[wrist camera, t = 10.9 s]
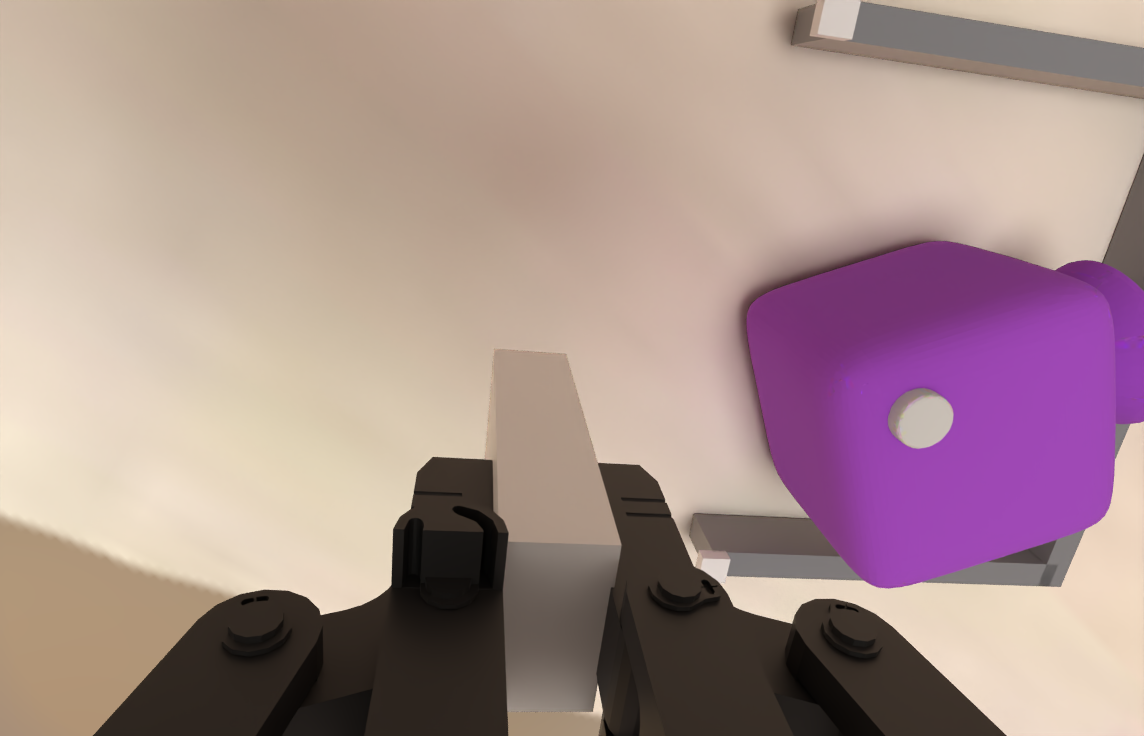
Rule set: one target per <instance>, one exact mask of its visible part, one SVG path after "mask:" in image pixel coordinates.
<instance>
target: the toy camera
mask: <svg viewBox="0 0 1144 736" xmlns="http://www.w3.org/2000/svg"><path fill="white" fill-rule="evenodd" d="M747 336H748V343H749V349H750V355H751V360H752V365H753V370H754V375H755V380H756V384H757V389H758V394H759V399H760V404H761V409H762V414H763V419H764V424H765V428H766V433H767V438H768V443H769V447H770V451H771V455H772V459H773V462H774V465H775V468H776V470H777V473H778V475H779V476H780V478H781V480H782V482H783V483H784V484H785V486H786V487H787V489H788V490H789V491H790V493H791V494H792V495H793V497H794V498H795V499H796V501H797V502H798V503H799V504H800V506H801V507H802V508H803V510H804V511H805V512H806V513H807V515H808V516H809V517H810V518H811V520H812V521H813V522H814V524H815V525H816V526H817V527H818V529H819V530H820V531H821V533H822V534H823V535H824V536H825V538H826V539H827V540H828V541H829V543H830V544H831V545H832V547H833V548H834V549H835V550H836V551H837V553H838V554H839V555H840V556H841V558H842V559H843V560H844V561H845V562H846V564H847V565H848V566H849V567H850V568H851V569H852V570H853V571H854V572H855V573H856V574H857V575H858V576H859V577H861V578H862V579H863V580H864V581H866V582H867V583H869V584H871V585H873V586H876V587H879V588H896V587H904V586H908V585H912V584H916V583H920V582H923V581H927V580H930V579H933V578H937V577H940V576H943V575H947V574H950V573H953V572H956V571H960V570H963V569H966V568H969V567H972V566H975V565H979V564H982V563H985V562H988V561H991V560H994V559H998V558H1001V557H1004V556H1007V555H1010V554H1013V553H1016V552H1020V551H1023V550H1026V549H1029V548H1032V547H1035V546H1039V545H1042V544H1045V543H1048V542H1051V541H1054V540H1057V539H1060V538H1063V537H1066V536H1069V535H1072V534H1074V533H1077V532H1080V531H1082V530H1084V529H1086V528H1088V527H1090V526H1092V525H1094V524H1096V523H1097V522H1098V521H1100V520H1101V519H1102V518H1103V517H1104V516H1105V514H1106V512H1107V511H1108V509H1109V506H1110V503H1111V497H1112V492H1113V482H1114V464H1115V433H1116V424H1132V423H1140V422H1143V421H1144V291H1143V290H1142V289H1141V288H1140V287H1139V286H1138V285H1137V284H1136V283H1135V282H1134V281H1132V280H1131V279H1130V278H1129V277H1128V276H1126V275H1125V274H1123V273H1122V272H1120V271H1119V270H1117V269H1115V268H1113V267H1111V266H1109V265H1107V264H1103V263H1100V262H1096V261H1088V260H1083V261H1076V262H1071V263H1068V264H1066V265H1064V266H1062V267H1060V268H1058V269H1056V270H1055V271H1054V270H1051V269H1048V268H1044V267H1041V266H1038V265H1035V264H1031V263H1028V262H1025V261H1022V260H1019V259H1015V258H1012V257H1008V256H1005V255H1001V254H998V253H994V252H990V251H987V250H983V249H979V248H976V247H972V246H968V245H964V244H960V243H954V242H948V241H933V242H926V243H922V244H918V245H914V246H910V247H906V248H903V249H900V250H896V251H893V252H890V253H887V254H883V255H880V256H877V257H874V258H870V259H867V260H864V261H861V262H858V263H854V264H851V265H848V266H845V267H841V268H838V269H835V270H832V271H828V272H825V273H822V274H819V275H816V276H813V277H810V278H806V279H803V280H800V281H797V282H794V283H791V284H788V285H785V286H782V287H780V288H777V289H774V290H772V291H769V292H768V293H766V294H764V295H762V296H760V297H759V298H757V299H756V300H755V301H754V302H753V303H752V304H751V305H750V307H749V310H748V313H747Z"/></svg>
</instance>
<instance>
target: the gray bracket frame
mask: <svg viewBox="0 0 1144 736" xmlns="http://www.w3.org/2000/svg"><path fill="white" fill-rule="evenodd" d="M791 45H793V46H800V47H806V48H813V49H819V50H826V51H832V52H839V53H846V54H852V55H859V56H865V57H872V58H879V59H885V60H892V61H898V62H905V63H911V64H918V65H925V66H931V67H938V68H944V69H951V70H958V71H964V72H971V73H977V74H984V75H990V76H997V77H1004V78H1010V79H1017V80H1023V81H1030V82H1037V83H1043V84H1050V85H1056V86H1063V87H1069V88H1076V89H1083V90H1089V91H1096V92H1102V93H1109V94H1116V95H1122V96H1129V97H1135V98H1142V99H1144V48H1140V47H1134V46H1128V45H1122V44H1116V43H1110V42H1104V41H1098V40H1091V39H1085V38H1079V37H1073V36H1067V35H1061V34H1055V33H1049V32H1043V31H1037V30H1031V29H1024V28H1018V27H1012V26H1006V25H1000V24H994V23H988V22H982V21H976V20H970V19H964V18H958V17H951V16H945V15H939V14H933V13H927V12H921V11H915V10H909V9H903V8H897V7H891V6H884V5H878V4H872V3H866V2H861V0H817V3H816V4H814V5H811V6H808V7H804V8H801V9H799V10H798V14H797V19H796V24H795V29H794V34H793V38H792V43H791ZM1103 264H1107V265H1109V266H1111V267H1113V268H1115V269H1117V270H1119V271H1120V272H1122V273H1123V274H1125V275H1126V276H1128V277H1129V278H1130V279H1131V280H1132V281H1134V282H1135V283H1136V284H1137V285H1138V286H1139V287H1140V288H1141V289H1142V290H1143V291H1144V157H1143V159H1142V162H1141V164H1140V167H1139V170H1138V172H1137V175H1136V178H1135V180H1134V183H1133V185H1132V188H1131V191H1130V193H1129V196H1128V199H1127V201H1126V204H1125V206H1124V209H1123V212H1122V214H1121V217H1120V220H1119V222H1118V225H1117V227H1116V230H1115V233H1114V235H1113V238H1112V241H1111V243H1110V246H1109V248H1108V251H1107V254H1106V256H1105V259H1104V262H1103ZM1129 426H1130V424H1116V433H1115V458H1116V456H1117V454H1118V451H1119V449H1120V447H1121V444H1122V442H1123V440H1124V437H1125V435H1126V433H1127V430H1128V428H1129ZM1084 531H1085V529H1084V530H1082V531H1080V532H1077V533H1074V534H1072V535H1069V536H1066V537H1063V538H1060V539H1057V540H1054V541H1051V542H1048V543H1045V544H1042V545H1039V546H1035V547H1032V548H1029V549H1026V550H1023V551H1020V552H1016V553H1013V554H1010V555H1007V556H1004V557H1001V558H998V559H994V560H991V561H988V562H985V563H982V564H979V565H975V566H972V567H969V568H966V569H963V570H960V571H956V572H953V573H950V574H947V575H943V576H940V577H937V578H933V579H930V580H927V581H923V582H926V583H958V584H989V585H1020V586H1051V587H1061V585H1062V582H1063V580H1064V578H1065V575H1066V573H1067V571H1068V568H1069V566H1070V564H1071V561H1072V559H1073V557H1074V554H1075V552H1076V550H1077V547H1078V545H1079V543H1080V540H1081V538H1082V536H1083V533H1084ZM689 536H690V538H691V540H692V543H693V545H694V547H695V549H696V551H697V553H698V557H697V562H696V567H695V568H698V569H700V570H703V571H704V572H706V573H707V574H709V575H710V576H711V577H713V578H714V579H716V580H717V581H718V582H719V583H725V581H726V577H727V576H739V577H771V578H802V579H833V580H863V579H862V578H861V577H859V576H858V575H857V574H856V573H855V572H854V571H853V570H852V569H851V568H850V567H849V566H848V565H847V564H846V562H845V561H844V560H843V559H842V558H841V556H840V555H839V554H838V553H837V551H836V550H835V549H834V548H833V547H832V545H831V544H830V543H829V541H828V540H827V539H826V538H825V536H824V535H823V534H822V533H821V531H820V530H819V529H818V527H817V526H816V525H815V524H814V522H813V521H812V520H811V519H800V518H778V517H756V516H734V515H712V514H694V515H693V520H692V525H691V530H690V535H689Z"/></svg>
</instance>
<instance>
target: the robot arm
mask: <svg viewBox="0 0 1144 736" xmlns="http://www.w3.org/2000/svg"><path fill="white" fill-rule="evenodd" d="M597 685H598V686H599V691H600V697H601V702H602V708H603V714H602V719H601V725H600V731H599V736H1006V735H1005V734H1004V733H1003V732H1002V731H1001V730H1000V729H999V728H998V727H997V726H996V725H995V724H994V723H993V722H992V721H991V720H990V719H989V718H988V717H987V716H985V715H984V714H983V713H982V712H981V711H980V710H979V709H978V708H977V707H976V706H975V705H974V704H973V703H972V702H971V701H970V700H969V699H968V698H967V697H966V696H964V695H963V694H962V693H961V692H960V691H959V690H958V689H957V688H956V687H955V686H954V685H953V684H952V683H951V682H950V681H949V680H948V679H947V678H946V677H945V676H943V675H942V674H941V673H940V672H939V671H938V670H937V669H936V668H935V667H934V666H933V665H932V664H931V663H930V662H929V661H928V660H927V659H926V658H925V657H924V656H922V655H921V654H920V653H919V652H918V651H917V650H916V649H915V648H914V647H913V646H912V645H911V644H910V643H909V642H908V641H907V640H906V639H905V638H904V637H903V636H901V635H900V634H899V633H898V632H897V631H896V630H895V629H894V628H893V627H892V626H891V625H889V624H888V623H887V622H885V621H884V620H883V619H881V618H880V617H879V616H877V615H876V614H875V613H872V612H870V611H868V610H866V609H864V608H862V607H860V606H858V605H856V604H852V603H848V602H844V601H840V600H836V599H814V600H812V601H809V602H807V603H804V604H802V605H801V607H800V608H799V609H798V611H797V612H796V614H795V616H794V620H793V623H792V624H790V623H786V622H782V621H778V620H774V619H770V618H766V617H762V616H758V615H754V614H751V613H748V612H745V611H742V610H739V609H737V608H735V607H733V604H732V602H731V600H730V598H729V596H728V594H727V593H726V591H725V590H724V589H723V587H722V586H721V585H720V583H719V582H718V581H717V580H716V579H714V578H713V577H711V576H710V575H709V574H707V573H706V572H704V571H703V570H700V569H698V568H695V567H694V566H693V564H692V562H691V559H690V557H689V555H688V552H687V550H686V547H685V545H684V543H683V540H682V538H681V536H680V533H679V531H678V529H677V526H676V524H675V522H674V519H673V518H671V512H670V510H669V508H668V505H667V503H665V498H664V496H663V494H662V491H661V489H660V486H659V484H658V482H657V481H656V480H655V479H654V478H653V477H652V476H651V475H650V474H649V473H647V472H646V471H645V470H644V469H643V468H642V467H641V466H640V465H627V464H607V463H598V462H597V459H596V455H595V452H594V449H593V445H592V442H591V438H590V435H589V431H588V428H587V424H586V421H585V418H584V414H583V411H582V407H581V404H580V400H579V397H578V394H577V390H576V387H575V383H574V380H573V376H572V373H571V369H570V366H569V363H568V359H567V356H566V354H559V353H545V352H531V351H518V350H504V349H494V354H493V366H492V378H491V390H490V402H489V414H488V426H487V438H486V450H485V460H483V459H462V458H442V457H432V458H431V459H430V460H429V461H428V462H427V463H426V464H425V465H424V466H423V467H422V468H421V469H420V470H419V471H418V472H417V477H416V483H415V489H414V495H413V500H412V505H411V510H409V511H408V512H406V513H405V514H403V515H402V516H400V518H399V520H398V521H397V523H396V525H395V527H394V529H393V553H392V585H391V586H390V588H389V589H388V590H386V591H385V592H384V593H383V594H381V595H380V596H379V597H377V598H375V599H373V600H371V601H369V602H367V603H365V604H363V605H361V606H357V607H354V608H351V609H347V610H344V611H339V612H334V613H329V614H325V615H320V611H319V609H318V608H317V607H316V606H315V605H314V604H313V603H312V602H311V601H310V600H309V599H308V598H307V597H304V596H301V595H298V594H295V593H293V592H290V591H281V590H261V591H255V592H250V593H245V594H240V595H238V596H235V597H233V598H231V599H229V600H226V601H224V602H222V603H220V604H217V605H216V606H215V607H214V608H212V609H211V610H210V611H208V612H207V613H206V614H205V615H203V616H202V617H201V618H200V619H198V620H197V621H196V623H195V624H194V625H193V626H192V627H191V628H190V629H189V630H188V631H187V633H186V634H185V635H184V636H183V637H182V638H181V639H180V640H179V641H178V643H177V644H176V645H175V646H174V647H173V648H172V649H171V650H170V651H169V652H168V653H167V655H166V656H165V657H164V658H163V659H162V660H161V661H160V662H159V663H158V665H157V666H156V667H155V668H154V669H153V670H152V671H151V672H150V673H149V674H148V676H147V677H146V678H145V679H144V680H143V681H142V682H141V683H140V684H139V686H138V687H137V688H136V689H135V690H134V691H133V692H132V693H131V694H130V696H129V697H128V698H127V699H126V700H125V701H124V702H123V703H122V704H121V706H120V707H119V708H118V709H117V710H116V711H115V712H114V713H113V714H112V715H111V716H110V717H109V719H108V720H107V721H106V722H105V723H104V724H103V725H102V727H100V729H99V730H98V731H97V732H96V733H95V734H94V735H93V736H508V717H507V712H593V708H594V702H595V696H596V690H597Z"/></svg>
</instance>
